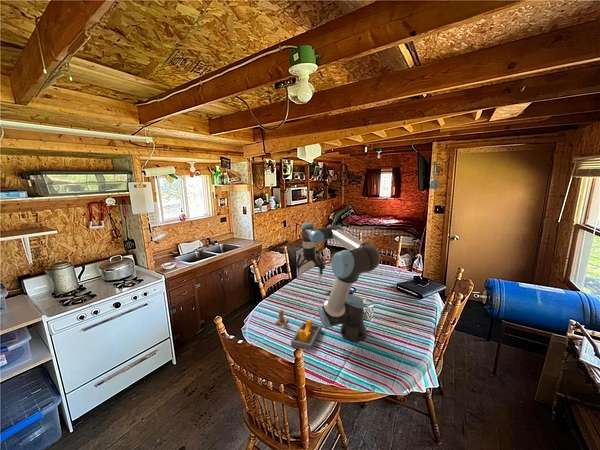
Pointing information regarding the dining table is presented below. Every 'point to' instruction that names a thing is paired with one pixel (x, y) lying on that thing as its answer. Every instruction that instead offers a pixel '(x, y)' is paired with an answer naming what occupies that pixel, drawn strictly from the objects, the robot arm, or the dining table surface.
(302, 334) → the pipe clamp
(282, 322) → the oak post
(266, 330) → the dining table surface
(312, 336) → the tray
